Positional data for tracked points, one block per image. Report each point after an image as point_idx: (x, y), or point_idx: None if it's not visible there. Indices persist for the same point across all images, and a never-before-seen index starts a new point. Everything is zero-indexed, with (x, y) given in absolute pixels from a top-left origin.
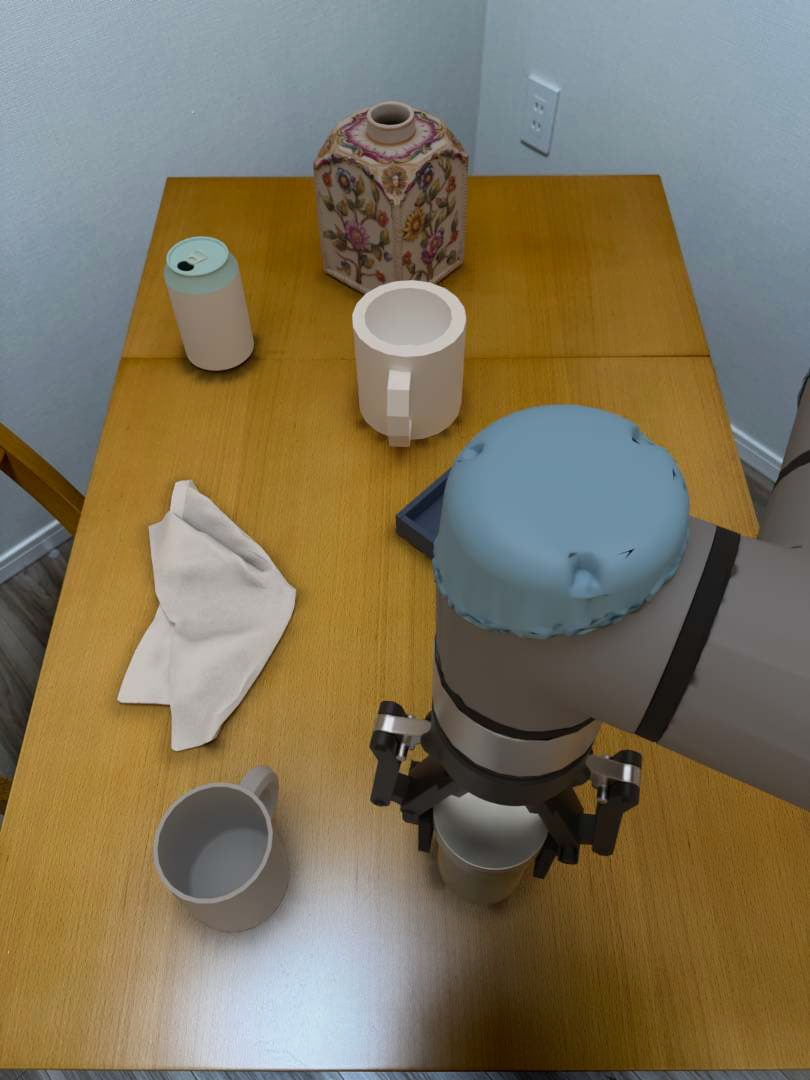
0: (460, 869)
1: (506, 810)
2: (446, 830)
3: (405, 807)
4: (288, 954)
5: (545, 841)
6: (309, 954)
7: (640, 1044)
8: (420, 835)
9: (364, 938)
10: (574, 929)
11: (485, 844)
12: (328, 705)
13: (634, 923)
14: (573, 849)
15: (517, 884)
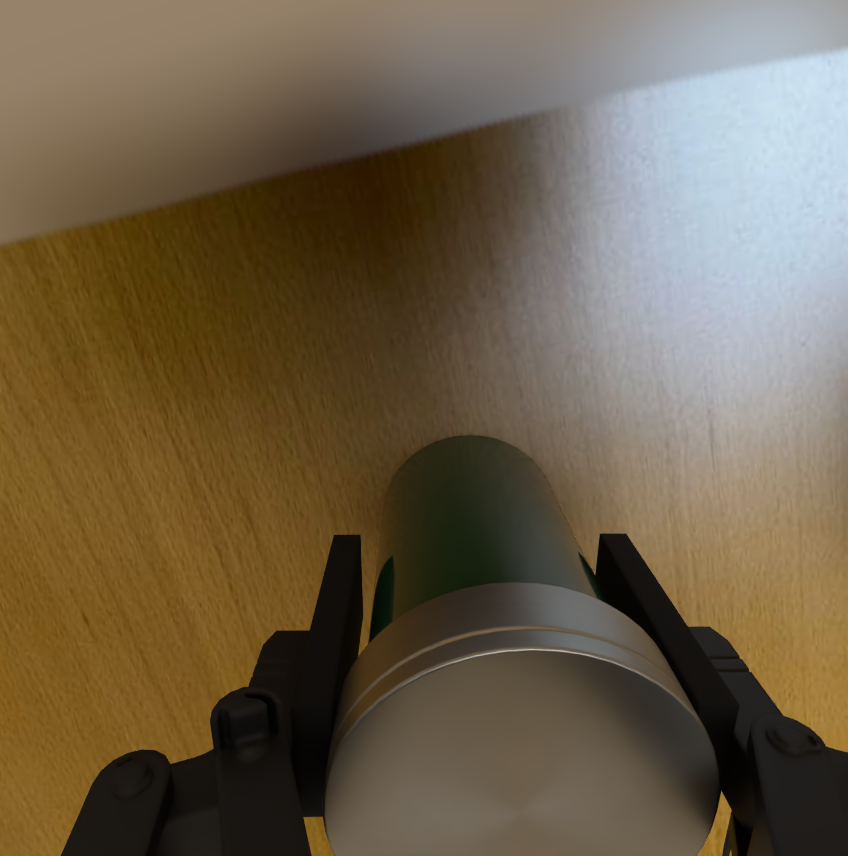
0: (549, 550)
1: (473, 815)
2: (668, 727)
3: (828, 776)
4: (842, 257)
5: (333, 720)
6: (797, 268)
7: (91, 254)
8: (668, 607)
9: (683, 324)
10: (264, 433)
11: (529, 715)
12: (799, 711)
13: (152, 468)
14: (234, 749)
15: (389, 492)
